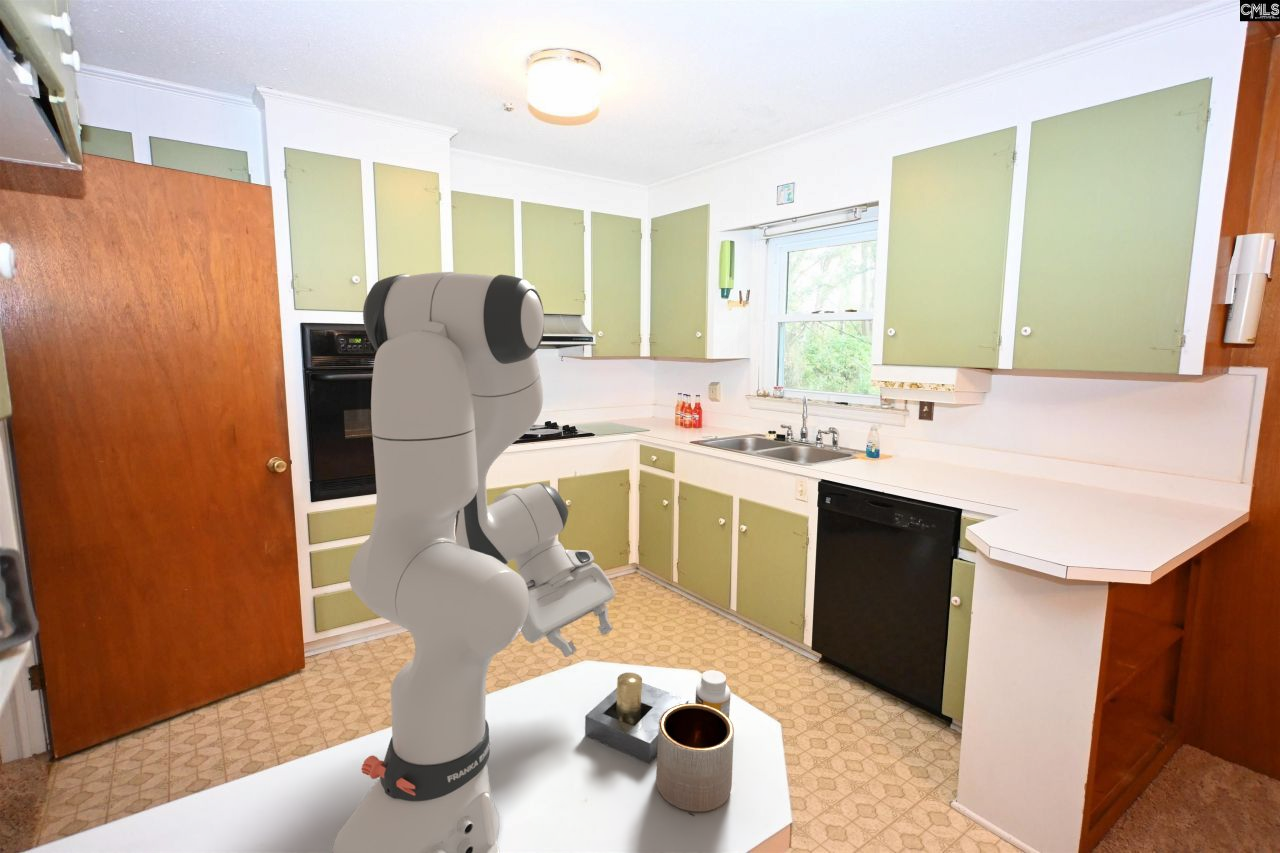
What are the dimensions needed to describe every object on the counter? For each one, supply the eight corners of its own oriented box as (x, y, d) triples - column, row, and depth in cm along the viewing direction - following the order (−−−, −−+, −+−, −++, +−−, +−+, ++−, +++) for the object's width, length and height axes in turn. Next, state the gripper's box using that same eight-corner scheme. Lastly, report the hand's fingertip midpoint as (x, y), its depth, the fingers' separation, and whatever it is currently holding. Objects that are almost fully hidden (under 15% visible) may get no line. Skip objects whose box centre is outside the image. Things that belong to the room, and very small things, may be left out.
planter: (728, 762, 92) (732, 705, 90) (733, 819, 81) (737, 755, 80) (658, 756, 93) (660, 699, 91) (653, 811, 82) (655, 748, 80)
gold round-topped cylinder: (631, 741, 96) (633, 689, 94) (610, 732, 98) (612, 681, 96) (644, 727, 99) (646, 677, 98) (623, 719, 101) (625, 669, 100)
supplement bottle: (686, 733, 98) (689, 675, 97) (709, 719, 102) (711, 663, 100) (713, 750, 94) (716, 691, 93) (735, 735, 98) (738, 677, 96)
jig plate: (649, 764, 91) (650, 743, 90) (585, 735, 97) (585, 715, 96) (687, 718, 102) (688, 699, 101) (627, 695, 108) (628, 677, 107)
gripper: (513, 582, 96) (557, 660, 91) (596, 548, 112) (636, 613, 108) (494, 601, 99) (536, 677, 95) (578, 565, 115) (616, 629, 111)
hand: (590, 643), depth 101 cm, fingers open, 8 cm apart
